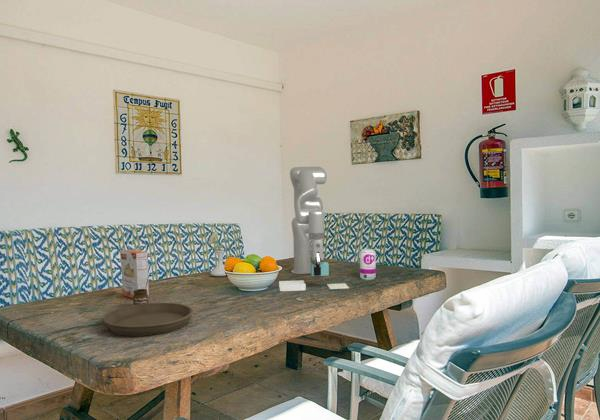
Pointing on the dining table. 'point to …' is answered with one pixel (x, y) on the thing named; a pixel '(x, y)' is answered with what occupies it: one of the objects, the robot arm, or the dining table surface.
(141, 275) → the cracker box
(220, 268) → the flower in vase
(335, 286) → the tile
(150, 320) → the plant saucer
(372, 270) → the supplement can
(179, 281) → the dining table surface
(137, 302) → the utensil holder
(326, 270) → the teal block
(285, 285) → the channel
